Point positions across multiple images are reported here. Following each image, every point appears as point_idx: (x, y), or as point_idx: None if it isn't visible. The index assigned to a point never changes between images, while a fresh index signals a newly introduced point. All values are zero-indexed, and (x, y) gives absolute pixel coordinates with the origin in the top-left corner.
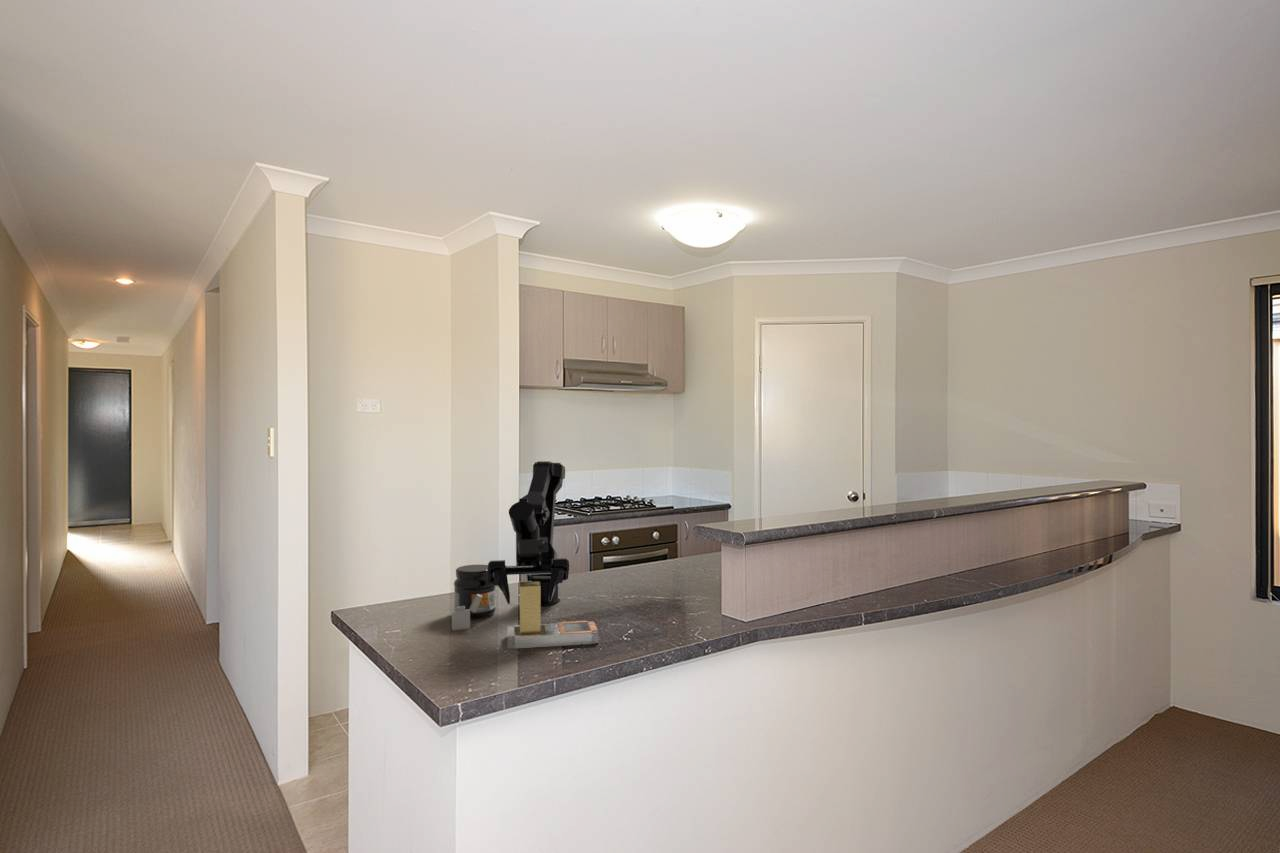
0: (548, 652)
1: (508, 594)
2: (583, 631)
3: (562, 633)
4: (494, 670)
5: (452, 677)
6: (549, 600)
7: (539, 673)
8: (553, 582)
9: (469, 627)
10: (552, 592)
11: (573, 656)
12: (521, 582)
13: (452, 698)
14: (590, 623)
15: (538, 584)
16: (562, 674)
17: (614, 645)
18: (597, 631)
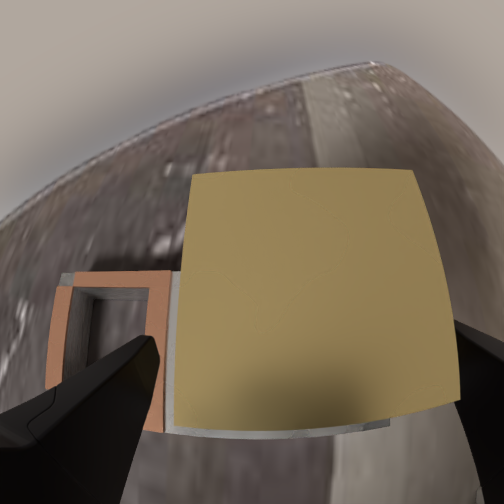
0: None
1: (478, 339)
2: (94, 281)
3: (163, 270)
4: (363, 139)
5: (428, 129)
6: (153, 337)
7: (263, 115)
8: (41, 406)
9: (480, 488)
10: (102, 358)
11: (168, 195)
12: (441, 389)
13: (389, 74)
14: (56, 369)
15: (204, 244)
16: (217, 111)
17: (56, 263)
18: (60, 283)
